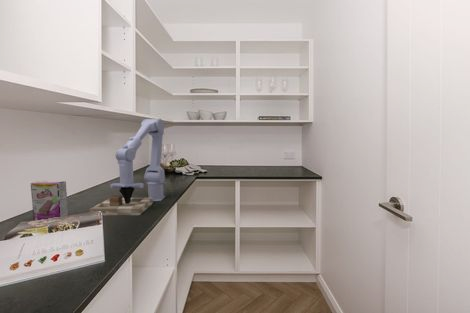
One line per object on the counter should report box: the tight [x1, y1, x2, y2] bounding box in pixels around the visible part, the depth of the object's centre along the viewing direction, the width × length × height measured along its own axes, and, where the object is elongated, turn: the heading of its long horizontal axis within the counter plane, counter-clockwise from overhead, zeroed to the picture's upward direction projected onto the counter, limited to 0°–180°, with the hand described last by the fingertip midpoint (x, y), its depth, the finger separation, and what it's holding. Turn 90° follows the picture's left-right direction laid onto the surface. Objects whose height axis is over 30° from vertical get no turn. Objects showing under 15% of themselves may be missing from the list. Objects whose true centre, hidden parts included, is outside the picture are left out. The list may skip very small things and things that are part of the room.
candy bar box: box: [30, 180, 69, 221], centre depth 97 cm, size 11×5×16 cm, turn 92°
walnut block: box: [108, 195, 123, 206], centre depth 108 cm, size 4×4×4 cm
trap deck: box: [89, 197, 154, 216], centre depth 112 cm, size 18×22×3 cm
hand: (127, 203), depth 108 cm, fingers closed
